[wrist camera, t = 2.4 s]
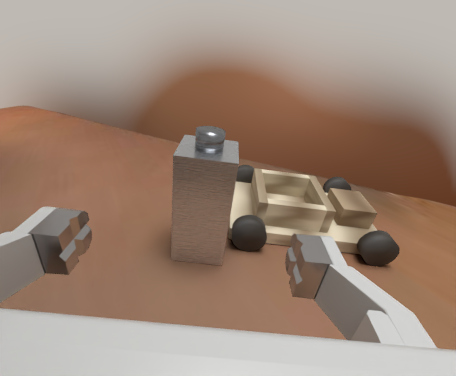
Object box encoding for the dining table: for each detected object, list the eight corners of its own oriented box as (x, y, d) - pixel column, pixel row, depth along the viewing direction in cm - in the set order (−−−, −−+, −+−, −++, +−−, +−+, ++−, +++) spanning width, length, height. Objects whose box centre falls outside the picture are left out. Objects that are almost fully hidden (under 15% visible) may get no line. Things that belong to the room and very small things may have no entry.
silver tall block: (170, 260, 25) (173, 136, 18) (180, 227, 29) (185, 118, 23) (222, 265, 25) (241, 145, 19) (224, 232, 29) (240, 126, 23)
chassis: (227, 248, 27) (233, 214, 25) (230, 184, 39) (234, 157, 37) (391, 267, 28) (411, 236, 25) (343, 198, 40) (354, 173, 38)
